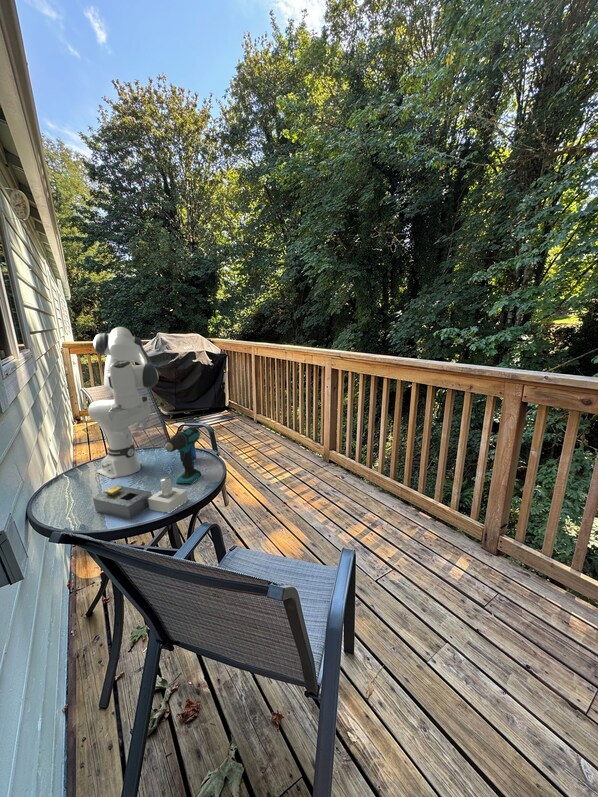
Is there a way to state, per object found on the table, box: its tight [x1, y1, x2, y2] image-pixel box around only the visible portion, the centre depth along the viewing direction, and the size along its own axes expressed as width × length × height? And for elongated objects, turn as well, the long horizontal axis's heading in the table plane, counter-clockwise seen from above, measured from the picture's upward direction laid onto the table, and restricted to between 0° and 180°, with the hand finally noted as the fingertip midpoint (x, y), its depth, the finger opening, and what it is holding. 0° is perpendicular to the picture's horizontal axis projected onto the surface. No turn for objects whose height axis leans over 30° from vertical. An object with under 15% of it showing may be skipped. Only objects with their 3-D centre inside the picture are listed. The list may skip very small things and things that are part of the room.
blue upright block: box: [180, 443, 197, 463], centre depth 191 cm, size 8×8×16 cm
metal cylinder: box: [159, 476, 173, 499], centre depth 147 cm, size 4×4×12 cm
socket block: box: [92, 484, 153, 521], centre depth 147 cm, size 20×12×6 cm, turn 67°
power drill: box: [164, 426, 202, 485], centre depth 166 cm, size 26×9×25 cm, turn 168°
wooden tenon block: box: [103, 485, 123, 496], centre depth 149 cm, size 5×5×8 cm
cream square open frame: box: [148, 486, 189, 513], centre depth 148 cm, size 11×11×5 cm
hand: (133, 434), depth 143 cm, fingers open, 8 cm apart
